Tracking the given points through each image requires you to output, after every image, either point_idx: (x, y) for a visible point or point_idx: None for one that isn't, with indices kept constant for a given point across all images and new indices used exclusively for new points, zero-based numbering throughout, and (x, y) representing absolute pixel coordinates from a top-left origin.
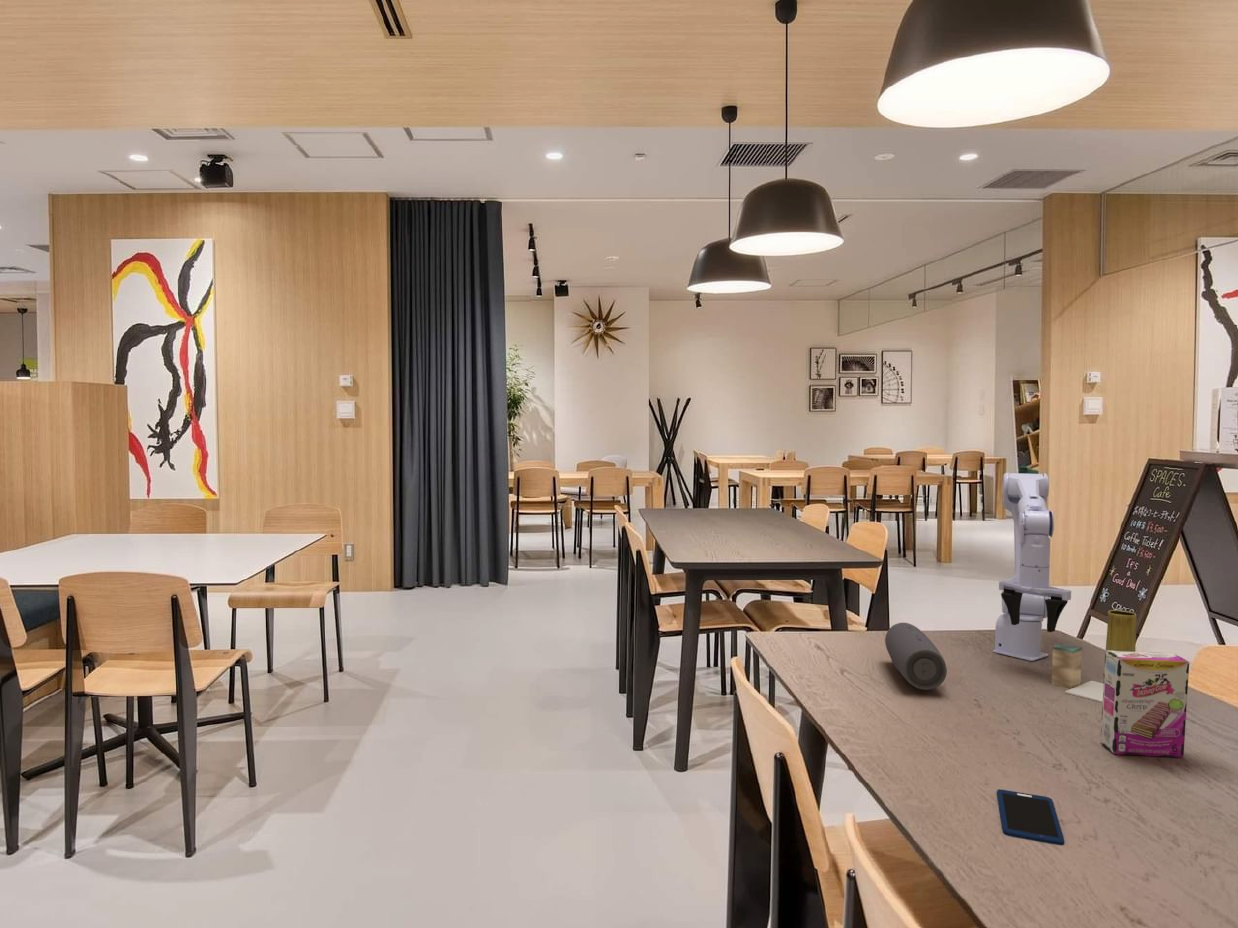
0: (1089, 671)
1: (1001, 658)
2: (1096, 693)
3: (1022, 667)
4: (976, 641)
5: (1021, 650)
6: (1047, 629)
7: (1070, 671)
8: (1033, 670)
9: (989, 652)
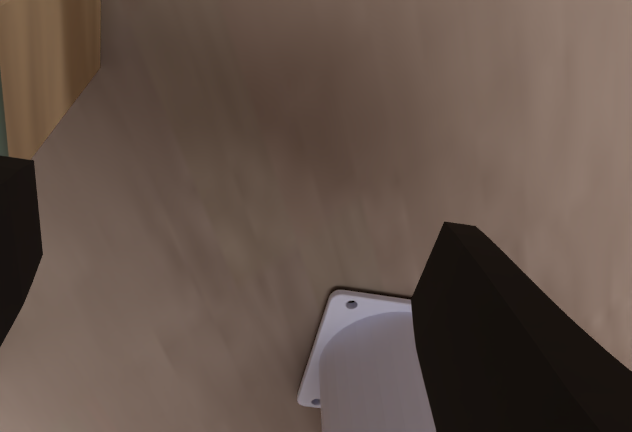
0: (78, 305)
1: None
2: None
3: (349, 170)
4: None
5: (395, 334)
6: (15, 167)
7: None
8: (285, 153)
9: None
